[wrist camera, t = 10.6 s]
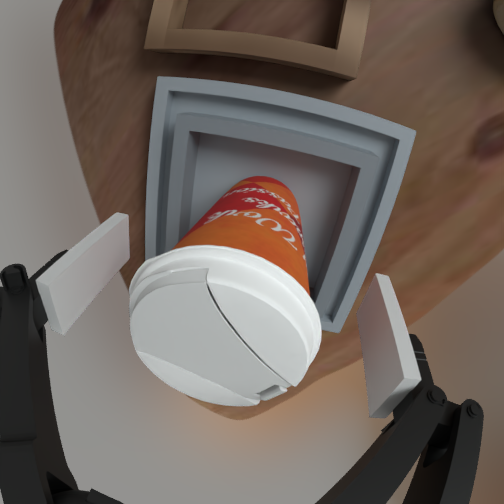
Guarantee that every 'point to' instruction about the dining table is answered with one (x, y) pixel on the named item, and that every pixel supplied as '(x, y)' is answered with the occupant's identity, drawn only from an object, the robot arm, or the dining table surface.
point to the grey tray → (277, 173)
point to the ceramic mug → (499, 13)
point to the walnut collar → (262, 40)
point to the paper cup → (230, 301)
